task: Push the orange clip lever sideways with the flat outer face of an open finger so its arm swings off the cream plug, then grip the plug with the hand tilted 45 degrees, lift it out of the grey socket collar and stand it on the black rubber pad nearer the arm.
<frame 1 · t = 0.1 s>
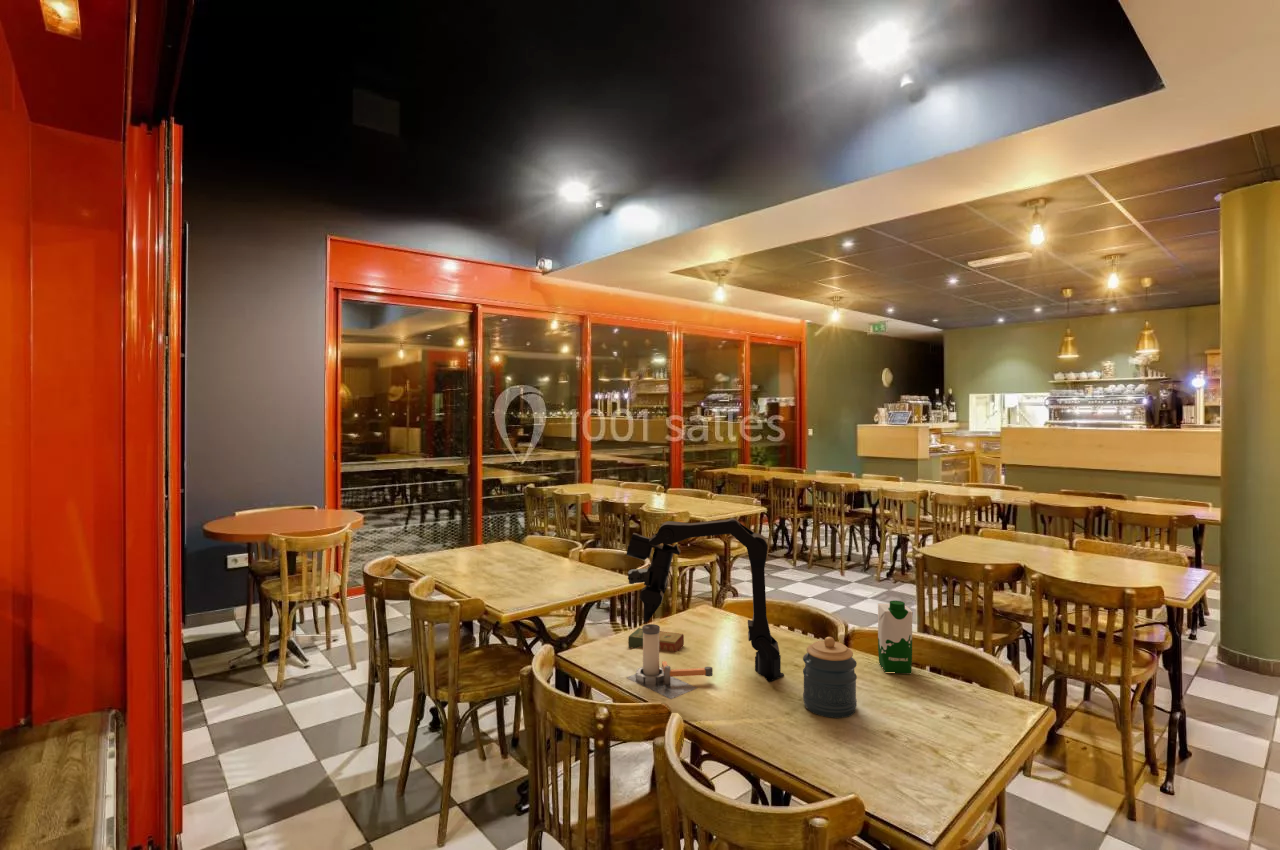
hand: (647, 616, 183), 15 cm above the table, tool pointing down, fingers open, 9 cm apart
carton: (656, 648, 201), on the table
pad: (676, 670, 181), on the table
plug: (651, 678, 174), point 1 cm above the table, touching socket plate
milk carton: (894, 669, 182), on the table
socket plate: (661, 685, 171), on the table
canister: (829, 707, 159), on the table
clip: (686, 670, 174), point 3 cm above the table, hinge at 0.0°
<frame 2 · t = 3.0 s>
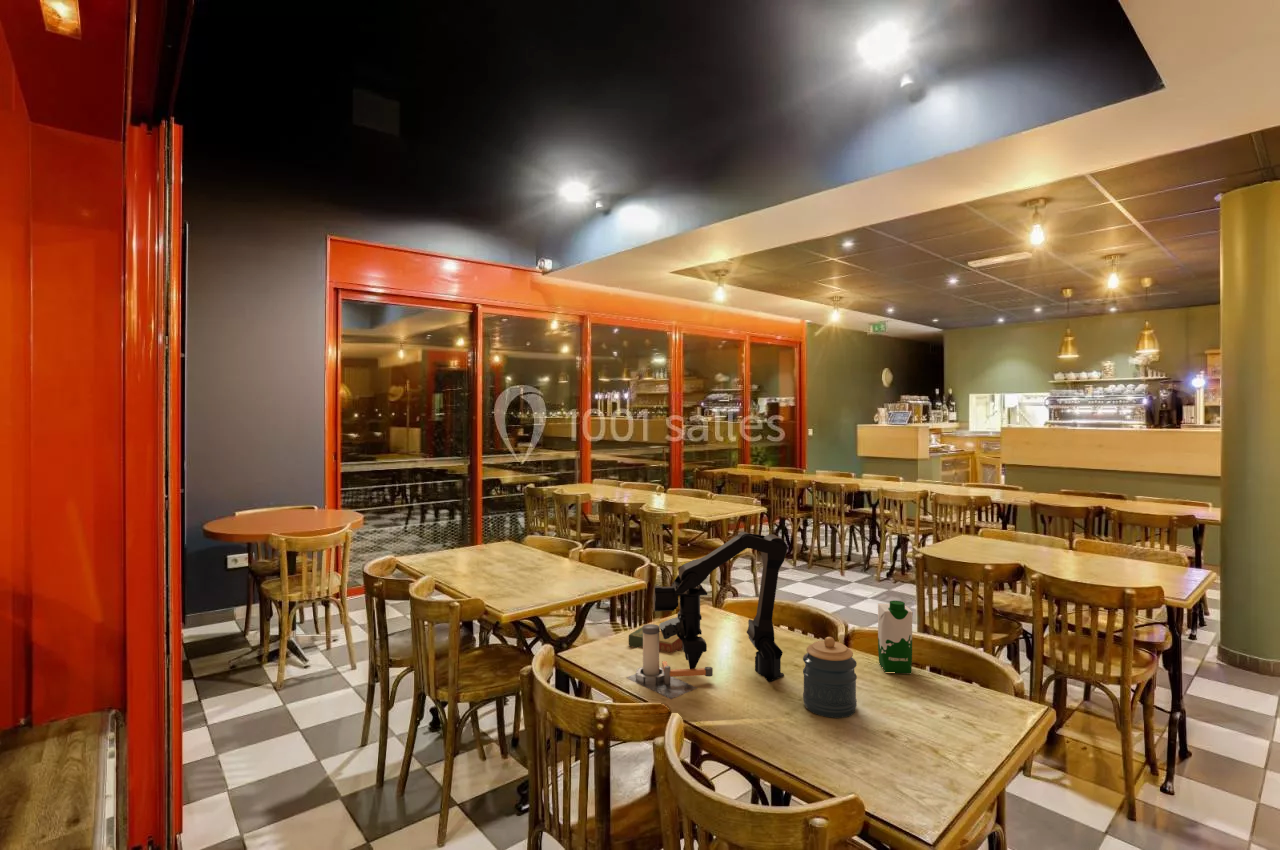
hand: (689, 665, 176), 4 cm above the table, tool pointing down, fingers open, 7 cm apart
clip: (686, 670, 174), point 3 cm above the table, hinge at 0.4°, touching gripper
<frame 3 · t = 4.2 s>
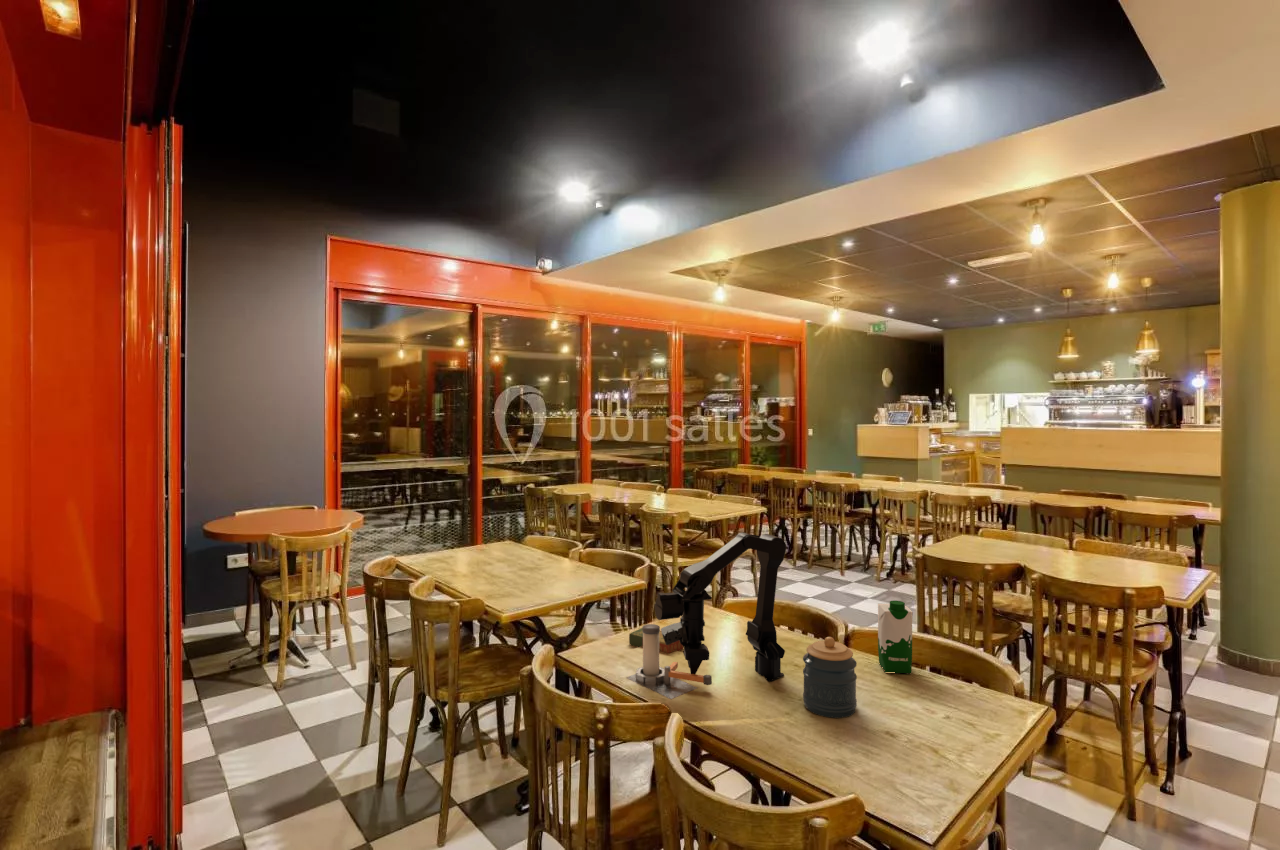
hand: (691, 671, 171), 4 cm above the table, tool pointing down, fingers open, 4 cm apart
clip: (691, 674, 171), point 3 cm above the table, hinge at 28.7°, touching gripper
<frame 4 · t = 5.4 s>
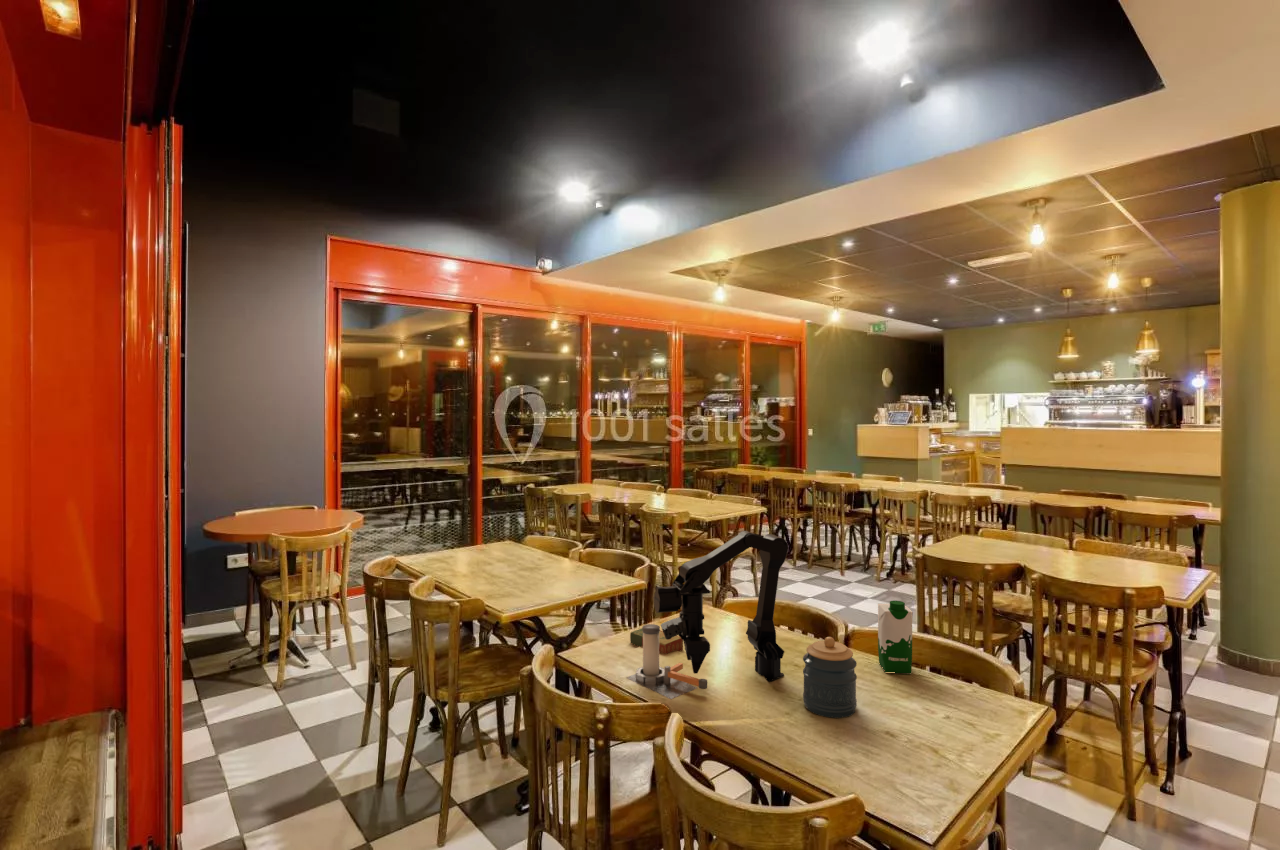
hand: (692, 666, 172), 5 cm above the table, tool pointing down, fingers open, 9 cm apart
clip: (691, 677, 169), point 3 cm above the table, hinge at 43.3°
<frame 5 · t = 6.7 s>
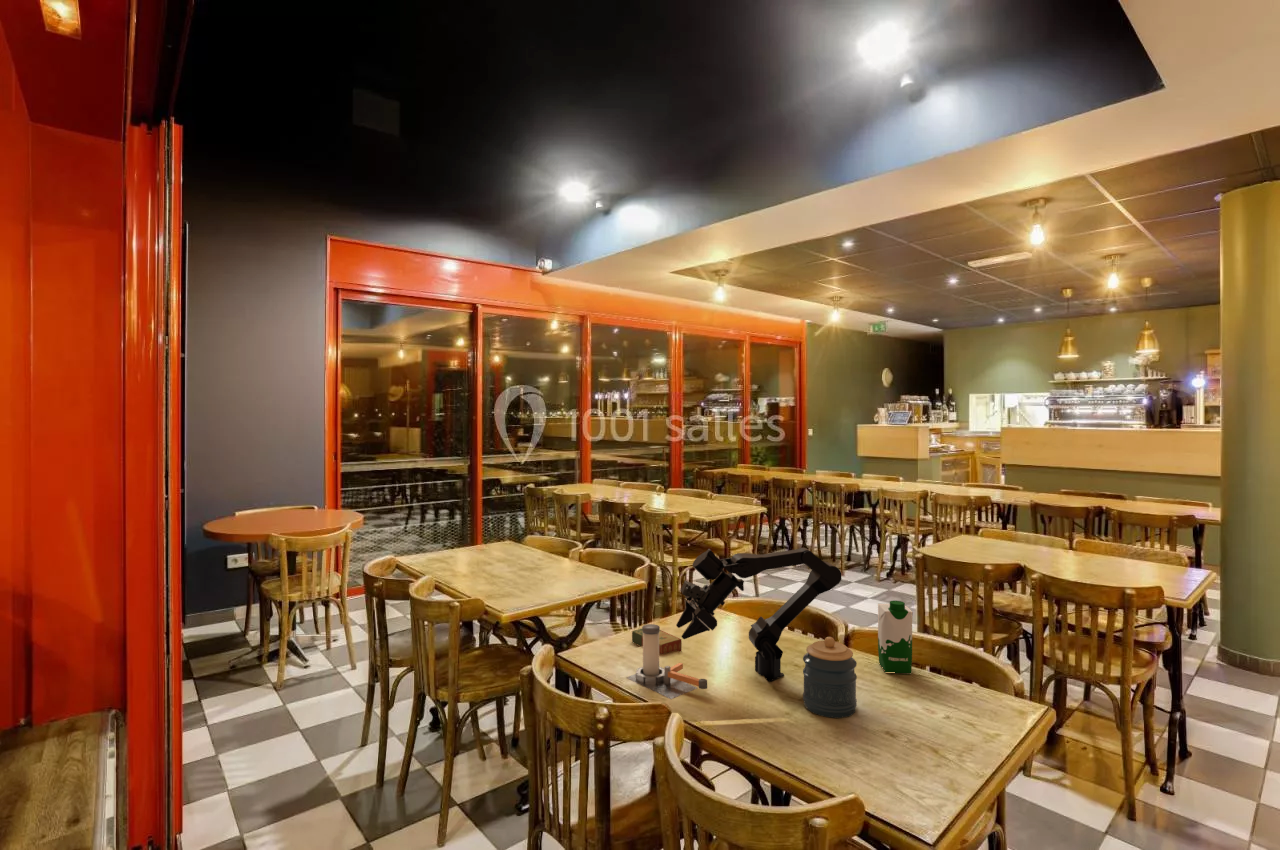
hand: (679, 632, 175), 13 cm above the table, tool tilted 45°, fingers open, 9 cm apart
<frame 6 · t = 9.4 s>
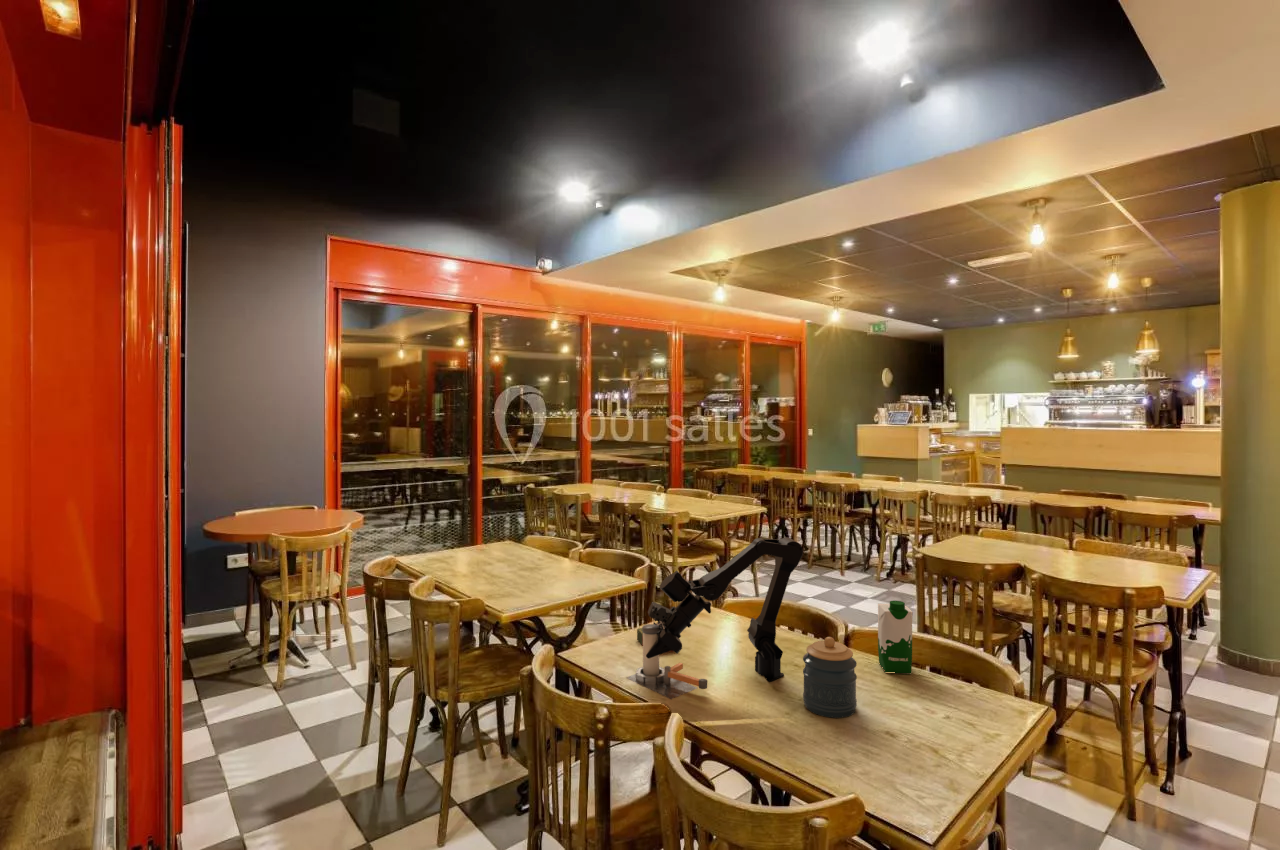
hand: (646, 653, 174), 8 cm above the table, tool tilted 45°, fingers closed on plug, 4 cm apart
plug: (651, 678, 174), point 1 cm above the table, touching gripper, socket plate
when the fingers open (8 cm above the table, at t = 13.1 s): plug stays where it is, resting on pad.
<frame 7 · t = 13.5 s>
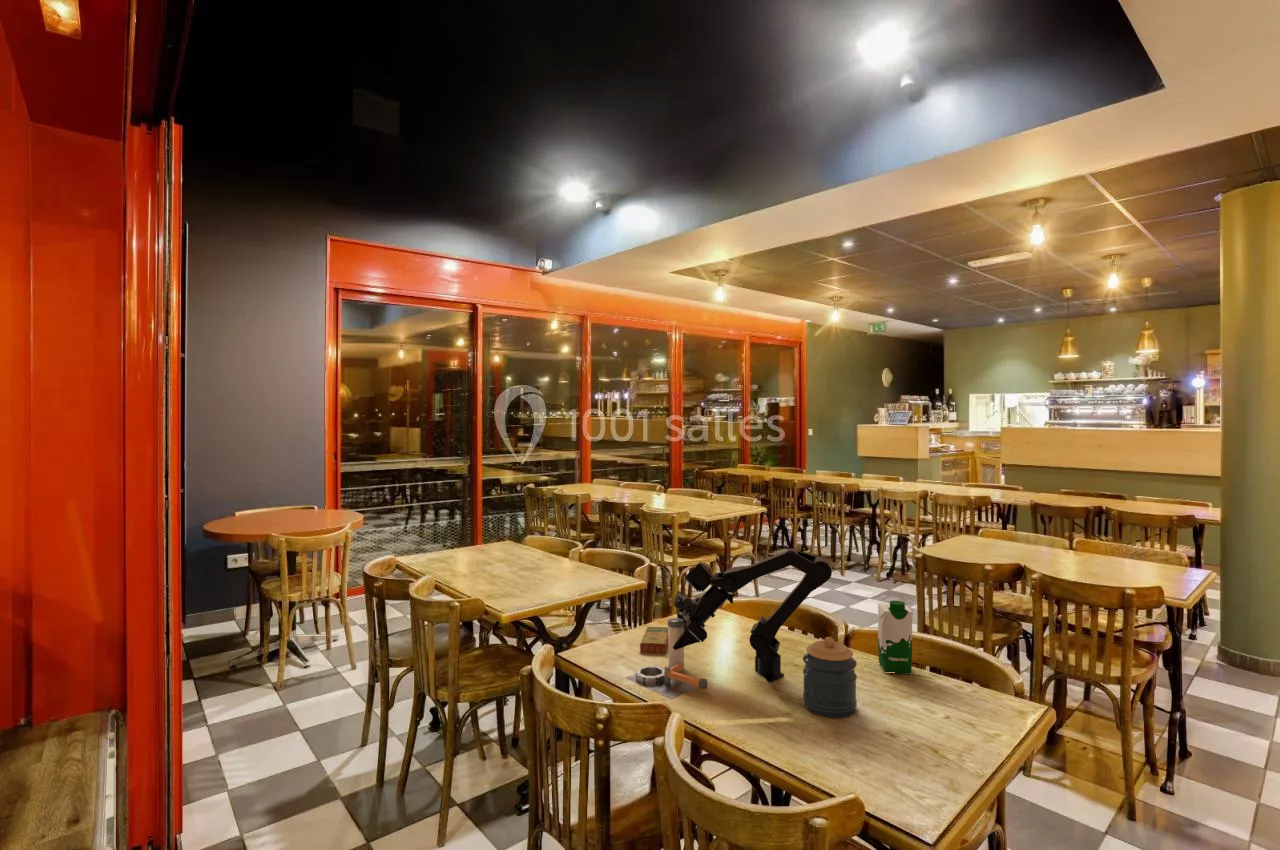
hand: (671, 643, 181), 8 cm above the table, tool tilted 45°, fingers open, 9 cm apart
plug: (676, 669, 181), resting on pad
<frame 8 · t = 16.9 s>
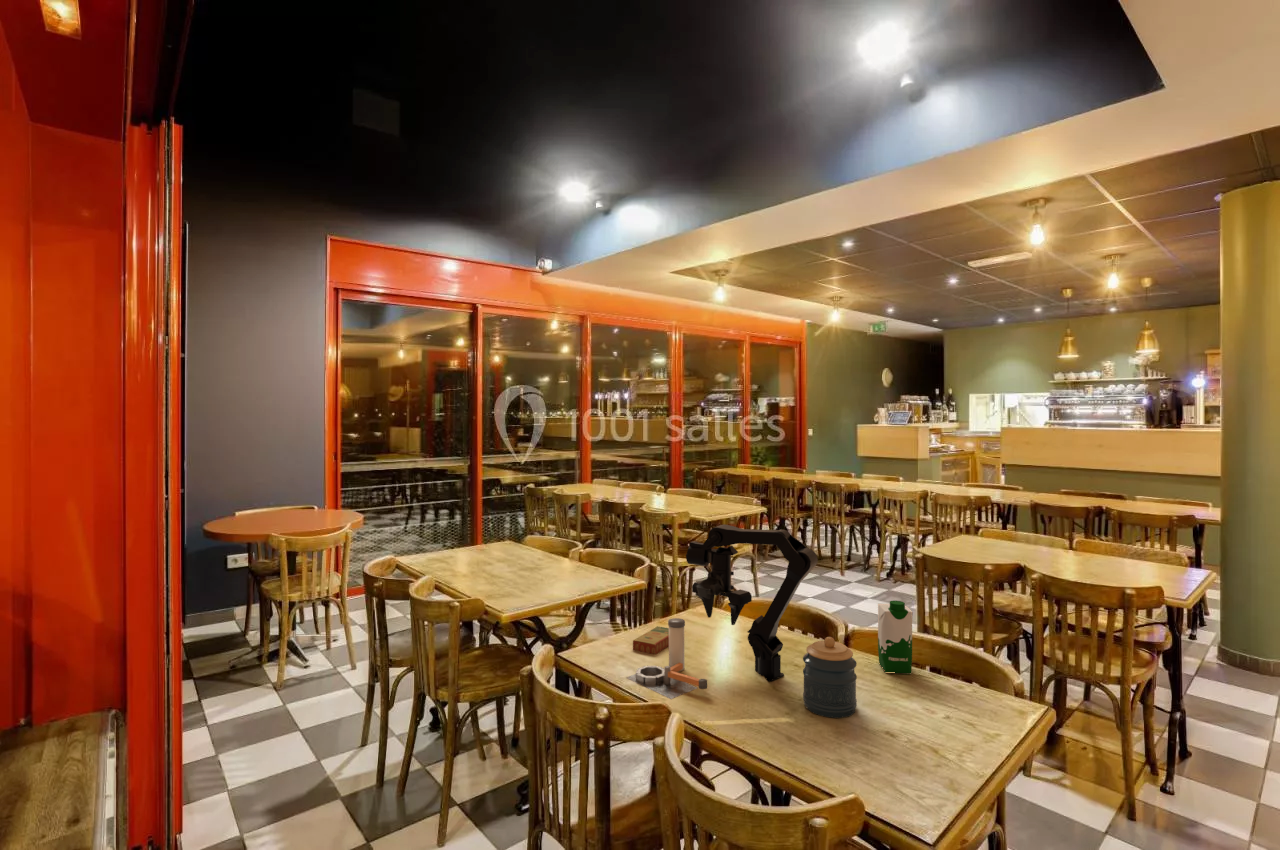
hand: (721, 621, 185), 13 cm above the table, tool pointing down, fingers open, 9 cm apart
at the end: clip at +43° (first picture: +0°); plug inside the target area (0.2 cm from its centre), resting on pad; plug tilted 0° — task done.
